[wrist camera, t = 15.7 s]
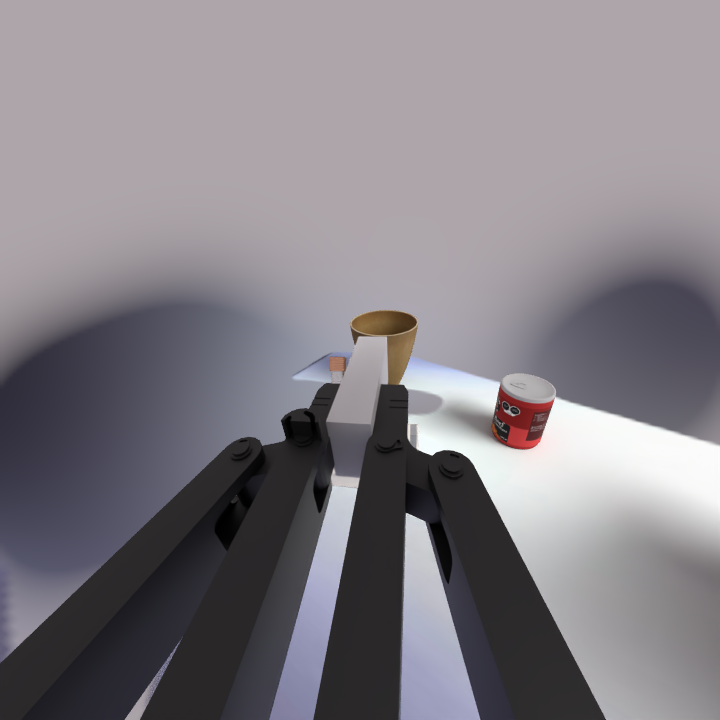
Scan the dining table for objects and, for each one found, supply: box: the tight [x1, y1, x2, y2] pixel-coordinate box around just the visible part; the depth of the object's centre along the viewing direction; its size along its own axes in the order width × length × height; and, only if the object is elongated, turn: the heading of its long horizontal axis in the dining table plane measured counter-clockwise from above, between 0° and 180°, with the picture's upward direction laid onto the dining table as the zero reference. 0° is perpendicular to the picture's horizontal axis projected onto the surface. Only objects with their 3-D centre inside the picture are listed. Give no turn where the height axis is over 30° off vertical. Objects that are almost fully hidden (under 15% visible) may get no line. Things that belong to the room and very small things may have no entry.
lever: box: [330, 357, 346, 384], centre depth 49 cm, size 2×2×15 cm
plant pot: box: [350, 310, 418, 385], centre depth 66 cm, size 15×15×16 cm
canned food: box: [492, 374, 556, 449], centre depth 49 cm, size 8×8×11 cm
